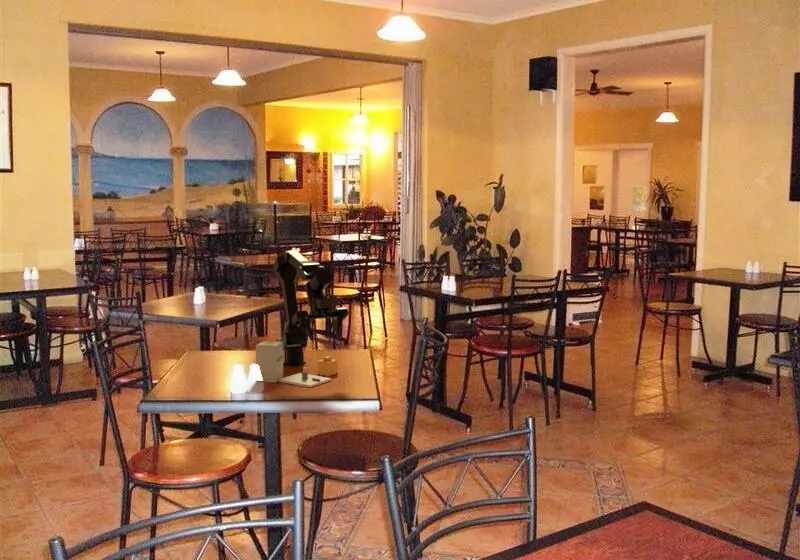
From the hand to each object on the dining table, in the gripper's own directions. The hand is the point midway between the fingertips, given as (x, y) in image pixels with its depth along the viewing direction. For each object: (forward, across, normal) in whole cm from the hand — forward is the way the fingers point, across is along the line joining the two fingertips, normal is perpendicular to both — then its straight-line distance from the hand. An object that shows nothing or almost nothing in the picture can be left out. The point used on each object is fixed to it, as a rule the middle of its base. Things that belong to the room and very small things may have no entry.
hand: (325, 339), depth 275 cm
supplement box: (+6, -15, +19) cm, 25 cm away
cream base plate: (+10, -5, +12) cm, 17 cm away
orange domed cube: (+7, +5, +17) cm, 19 cm away
